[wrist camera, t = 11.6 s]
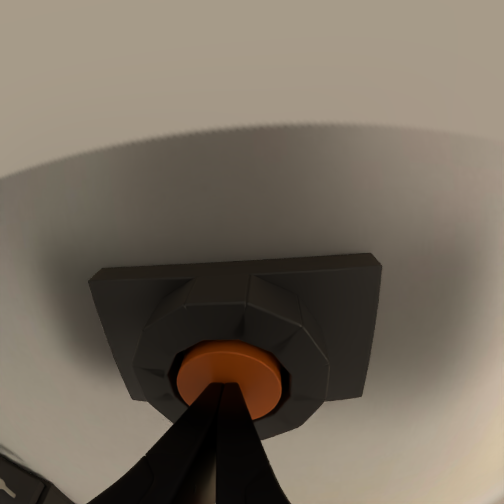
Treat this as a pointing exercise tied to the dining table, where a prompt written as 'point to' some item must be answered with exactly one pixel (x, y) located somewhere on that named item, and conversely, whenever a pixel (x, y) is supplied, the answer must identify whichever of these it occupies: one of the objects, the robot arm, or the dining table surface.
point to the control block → (245, 325)
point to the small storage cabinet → (46, 490)
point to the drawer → (18, 486)
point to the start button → (232, 372)
